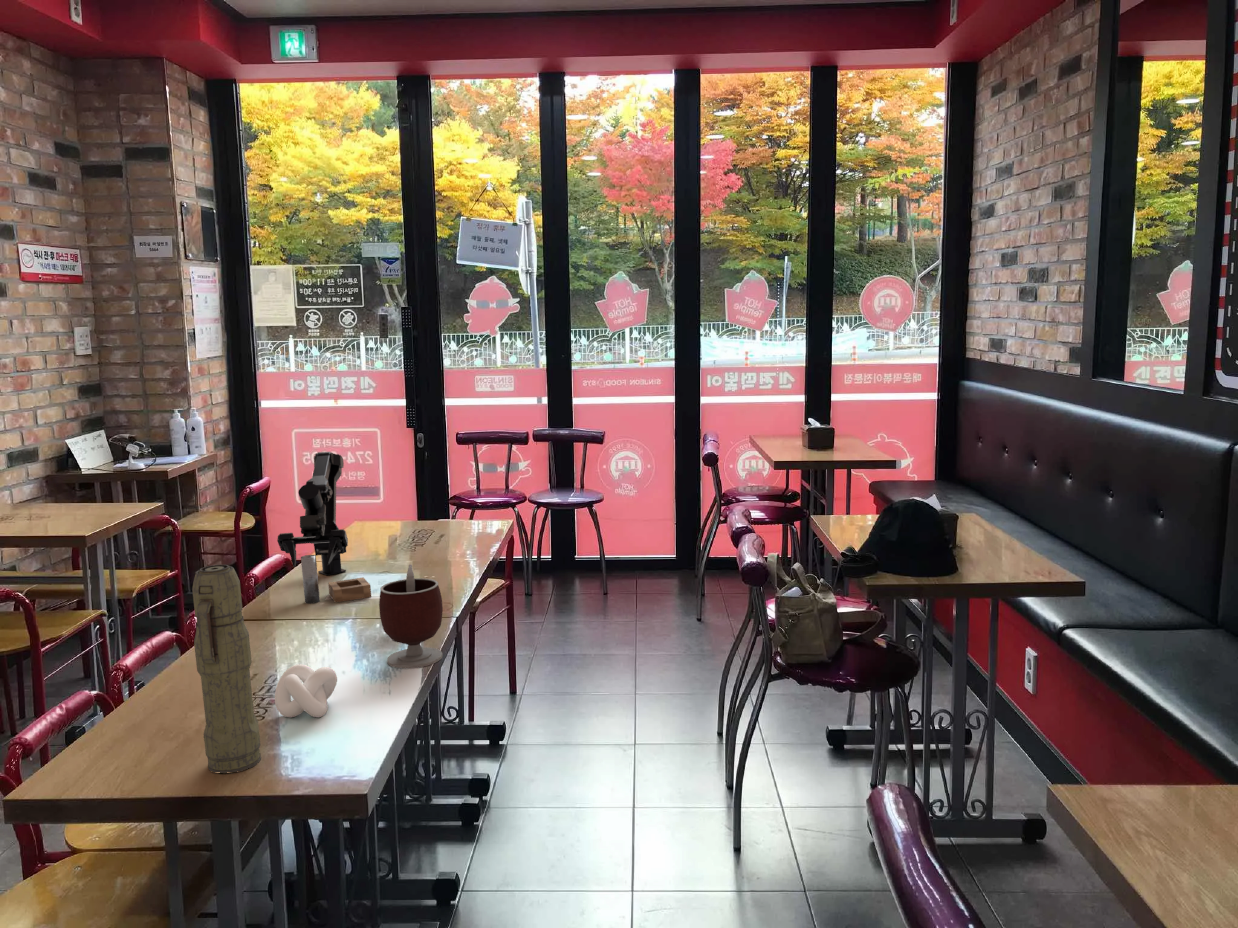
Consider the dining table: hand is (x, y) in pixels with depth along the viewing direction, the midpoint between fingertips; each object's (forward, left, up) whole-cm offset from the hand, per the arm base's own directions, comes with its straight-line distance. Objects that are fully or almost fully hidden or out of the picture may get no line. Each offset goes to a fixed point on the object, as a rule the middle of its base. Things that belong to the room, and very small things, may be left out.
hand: (311, 565), depth 274 cm
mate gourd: (+67, -9, -10) cm, 68 cm away
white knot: (+79, -41, -10) cm, 89 cm away
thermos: (+90, -60, -10) cm, 109 cm away
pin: (+2, -2, -10) cm, 10 cm away
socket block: (+5, +8, -10) cm, 14 cm away
